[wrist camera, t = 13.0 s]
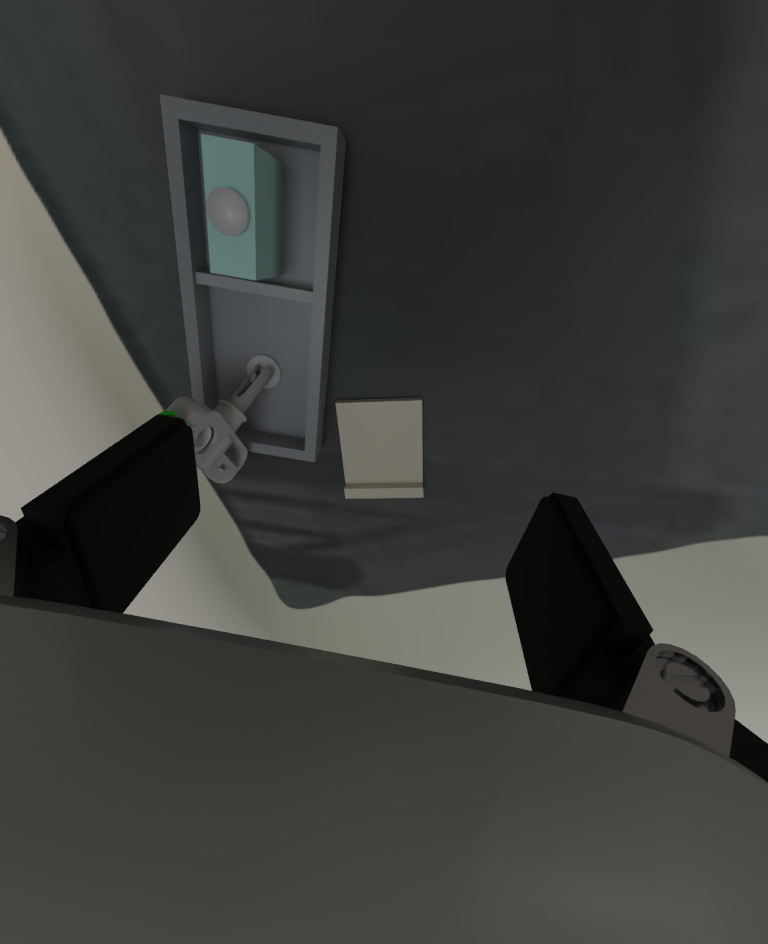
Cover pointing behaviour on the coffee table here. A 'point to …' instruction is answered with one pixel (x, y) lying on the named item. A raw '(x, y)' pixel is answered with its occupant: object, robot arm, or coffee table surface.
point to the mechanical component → (220, 427)
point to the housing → (257, 262)
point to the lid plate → (381, 447)
